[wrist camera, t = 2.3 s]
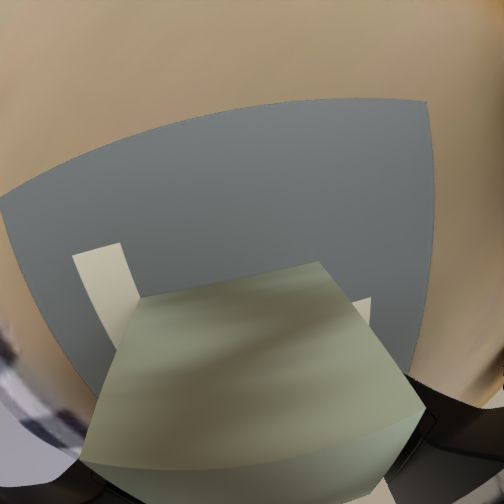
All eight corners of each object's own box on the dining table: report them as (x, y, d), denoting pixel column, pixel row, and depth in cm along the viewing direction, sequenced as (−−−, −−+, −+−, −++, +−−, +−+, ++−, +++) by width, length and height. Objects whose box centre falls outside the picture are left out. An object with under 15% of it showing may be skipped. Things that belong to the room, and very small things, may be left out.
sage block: (318, 261, 9) (425, 407, 3) (324, 380, 11) (369, 494, 5) (140, 297, 8) (79, 460, 3) (193, 405, 11) (191, 524, 5)
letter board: (416, 102, 7) (426, 102, 7) (394, 395, 14) (398, 402, 13) (7, 195, 7) (-3, 199, 6) (147, 444, 13) (146, 451, 12)
